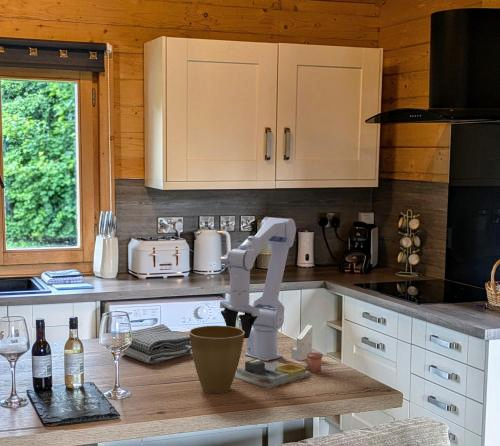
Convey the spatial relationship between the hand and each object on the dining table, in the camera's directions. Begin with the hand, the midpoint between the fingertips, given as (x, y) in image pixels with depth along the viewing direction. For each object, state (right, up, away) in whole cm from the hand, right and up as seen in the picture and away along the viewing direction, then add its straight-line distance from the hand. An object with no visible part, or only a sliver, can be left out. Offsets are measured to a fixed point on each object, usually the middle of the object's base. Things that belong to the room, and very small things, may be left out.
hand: (238, 336), depth 220 cm
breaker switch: (+5, -10, -4) cm, 12 cm away
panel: (+10, -11, -3) cm, 15 cm away
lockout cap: (+22, -11, +3) cm, 25 cm away
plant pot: (-6, -12, -16) cm, 21 cm away
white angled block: (+20, -10, +17) cm, 27 cm away
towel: (-26, -9, +16) cm, 31 cm away
